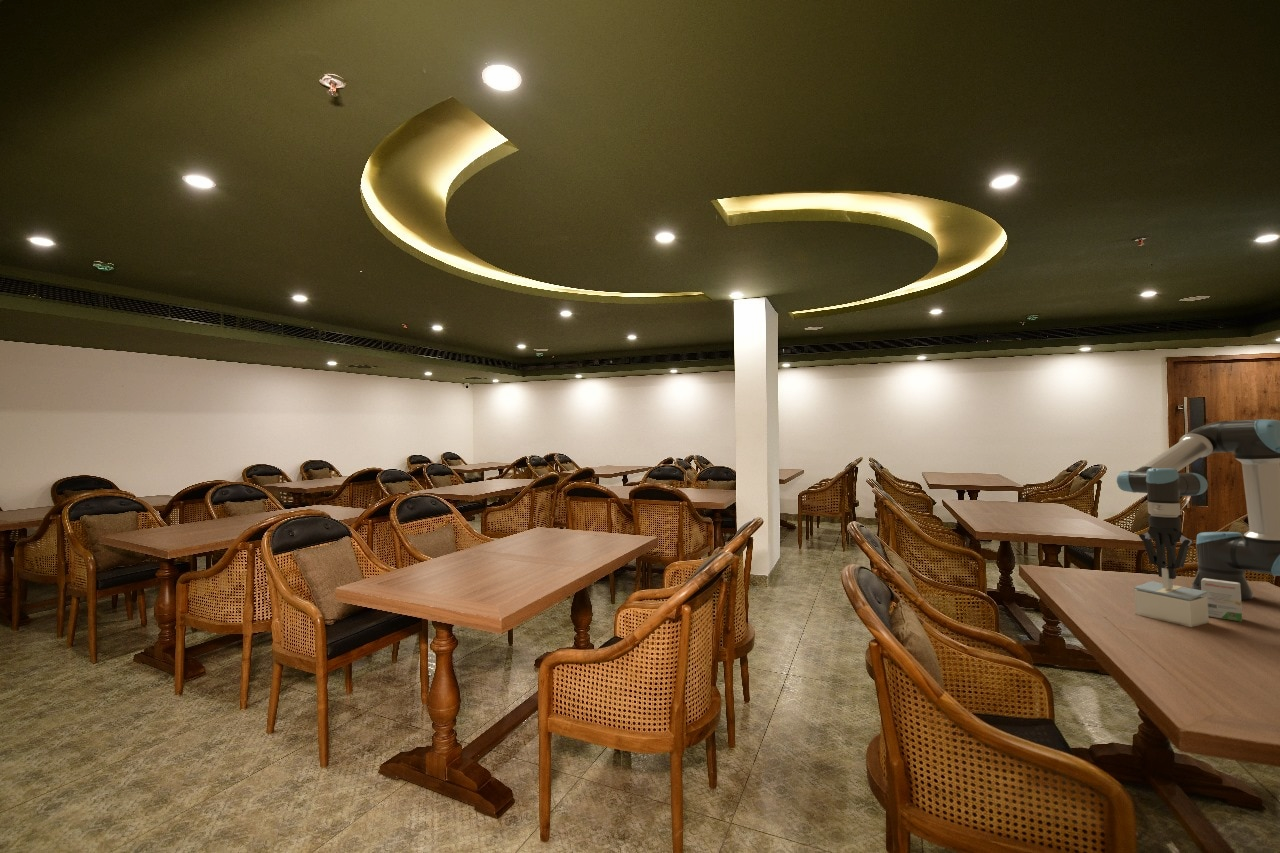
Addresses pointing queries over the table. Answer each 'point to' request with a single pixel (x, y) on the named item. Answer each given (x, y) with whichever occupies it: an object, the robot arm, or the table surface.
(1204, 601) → the carton
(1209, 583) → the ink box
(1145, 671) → the table surface
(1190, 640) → the table surface
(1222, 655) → the table surface
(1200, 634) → the table surface
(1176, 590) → the lid
